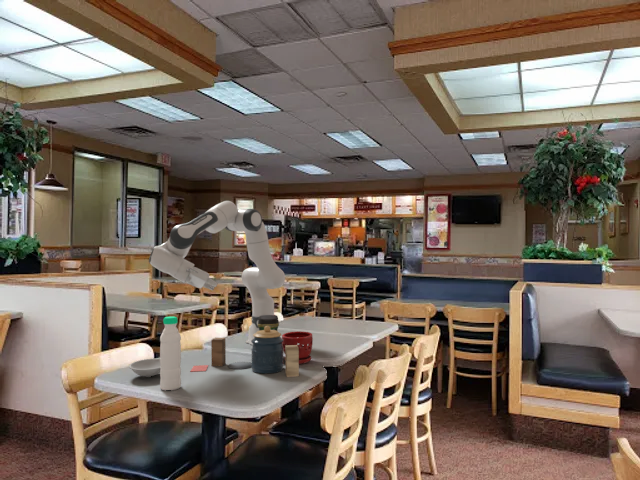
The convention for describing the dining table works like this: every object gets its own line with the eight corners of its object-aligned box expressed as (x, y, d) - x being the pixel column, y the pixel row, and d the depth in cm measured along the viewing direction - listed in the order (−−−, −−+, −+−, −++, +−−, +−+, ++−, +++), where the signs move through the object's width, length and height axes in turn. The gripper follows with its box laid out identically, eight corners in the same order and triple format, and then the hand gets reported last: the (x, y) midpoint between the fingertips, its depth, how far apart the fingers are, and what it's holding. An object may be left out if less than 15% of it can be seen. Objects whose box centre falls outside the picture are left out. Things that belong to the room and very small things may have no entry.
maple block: (285, 373, 186) (285, 345, 187) (296, 373, 187) (296, 344, 188) (287, 376, 182) (286, 347, 182) (298, 376, 183) (298, 347, 183)
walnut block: (215, 363, 204) (215, 337, 204) (225, 363, 203) (225, 337, 204) (211, 366, 200) (211, 339, 200) (221, 366, 199) (221, 339, 199)
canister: (250, 366, 198) (249, 324, 198) (281, 364, 201) (281, 322, 201) (252, 375, 185) (252, 329, 185) (285, 372, 188) (285, 327, 188)
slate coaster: (233, 362, 205) (233, 361, 205) (255, 363, 203) (255, 362, 203) (225, 368, 195) (225, 367, 195) (248, 369, 193) (248, 368, 193)
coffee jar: (278, 353, 222) (278, 313, 222) (280, 357, 214) (279, 315, 214) (257, 354, 220) (257, 314, 220) (258, 358, 212) (257, 316, 212)
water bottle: (164, 385, 172) (164, 315, 173) (183, 385, 172) (183, 315, 172) (157, 391, 165) (156, 318, 166) (177, 391, 165) (177, 318, 165)
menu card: (193, 367, 200) (193, 365, 200) (208, 367, 200) (208, 365, 200) (190, 373, 191) (190, 371, 191) (205, 372, 191) (205, 370, 191)
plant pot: (282, 358, 212) (282, 331, 212) (311, 357, 213) (311, 330, 213) (281, 366, 199) (281, 337, 199) (313, 365, 200) (313, 336, 200)
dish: (132, 372, 191) (132, 359, 191) (170, 369, 194) (170, 357, 194) (125, 384, 173) (125, 370, 174) (167, 381, 177) (167, 368, 177)
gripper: (191, 260, 193) (222, 276, 195) (187, 269, 211) (215, 284, 214) (183, 273, 190) (215, 290, 193) (180, 282, 209) (208, 296, 212)
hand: (215, 287), depth 204 cm, fingers open, 8 cm apart
